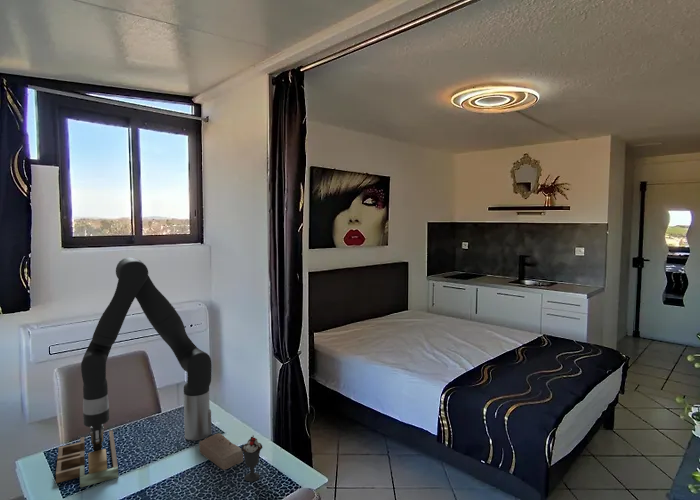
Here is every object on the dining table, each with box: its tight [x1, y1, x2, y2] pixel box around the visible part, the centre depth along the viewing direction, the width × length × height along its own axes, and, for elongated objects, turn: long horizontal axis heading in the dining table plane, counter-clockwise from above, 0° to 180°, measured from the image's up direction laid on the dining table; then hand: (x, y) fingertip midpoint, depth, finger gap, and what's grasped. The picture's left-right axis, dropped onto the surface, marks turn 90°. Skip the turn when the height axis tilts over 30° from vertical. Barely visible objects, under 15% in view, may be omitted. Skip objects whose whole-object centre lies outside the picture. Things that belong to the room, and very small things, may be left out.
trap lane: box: [55, 430, 119, 488], centre depth 145 cm, size 17×29×3 cm, turn 32°
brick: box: [198, 433, 244, 471], centre depth 150 cm, size 17×8×5 cm, turn 48°
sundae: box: [240, 435, 263, 483], centre depth 138 cm, size 7×7×15 cm
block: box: [87, 448, 108, 474], centre depth 139 cm, size 5×8×6 cm, turn 32°
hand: (97, 457), depth 145 cm, fingers closed
